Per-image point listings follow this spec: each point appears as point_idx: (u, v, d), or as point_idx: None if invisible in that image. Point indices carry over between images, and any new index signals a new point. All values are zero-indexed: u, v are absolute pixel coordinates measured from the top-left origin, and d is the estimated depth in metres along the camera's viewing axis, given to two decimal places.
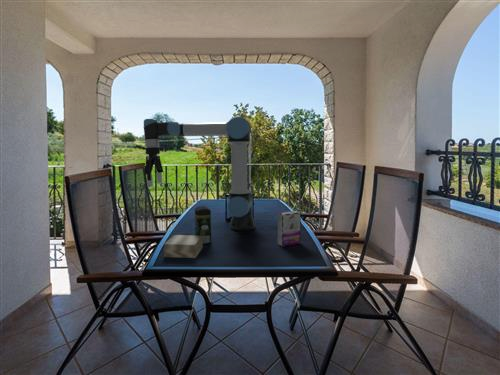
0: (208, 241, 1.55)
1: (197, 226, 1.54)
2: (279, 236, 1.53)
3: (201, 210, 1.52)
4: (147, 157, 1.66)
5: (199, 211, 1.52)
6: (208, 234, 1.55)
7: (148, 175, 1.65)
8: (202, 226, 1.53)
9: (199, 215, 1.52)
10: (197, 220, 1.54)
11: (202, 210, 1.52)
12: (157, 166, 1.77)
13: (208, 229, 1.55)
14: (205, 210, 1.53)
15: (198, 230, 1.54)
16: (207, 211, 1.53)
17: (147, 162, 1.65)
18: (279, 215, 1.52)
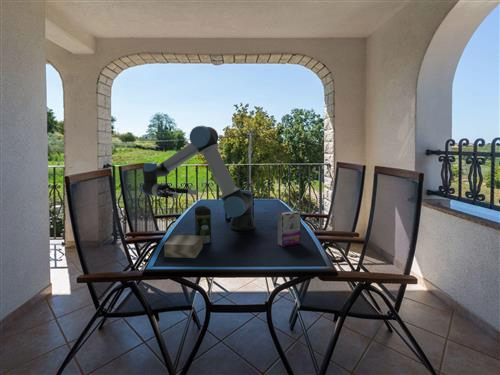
0: (208, 241, 1.55)
1: (197, 226, 1.54)
2: (279, 236, 1.53)
3: (201, 210, 1.52)
4: (158, 193, 1.68)
5: (199, 211, 1.52)
6: (208, 234, 1.55)
7: (167, 194, 1.61)
8: (202, 226, 1.53)
9: (199, 215, 1.52)
10: (197, 220, 1.54)
11: (202, 210, 1.52)
12: (180, 190, 1.74)
13: (208, 229, 1.55)
14: (205, 210, 1.53)
15: (198, 230, 1.54)
16: (207, 211, 1.53)
17: (160, 194, 1.66)
18: (279, 215, 1.52)
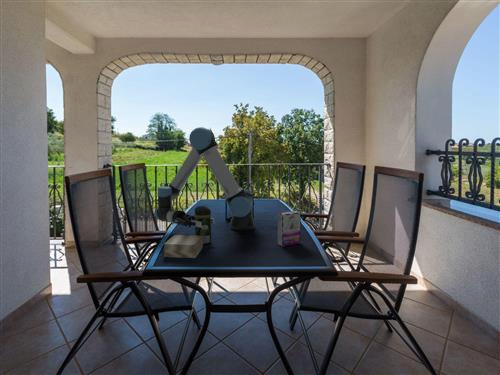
0: (208, 241, 1.55)
1: None
2: (279, 236, 1.53)
3: (201, 210, 1.52)
4: (175, 221, 1.59)
5: (199, 211, 1.52)
6: (208, 234, 1.55)
7: (190, 223, 1.54)
8: (202, 226, 1.53)
9: (199, 215, 1.52)
10: (197, 220, 1.54)
11: (202, 210, 1.52)
12: None
13: (208, 229, 1.55)
14: (205, 210, 1.53)
15: (198, 230, 1.54)
16: (207, 211, 1.53)
17: (179, 222, 1.58)
18: (279, 215, 1.52)
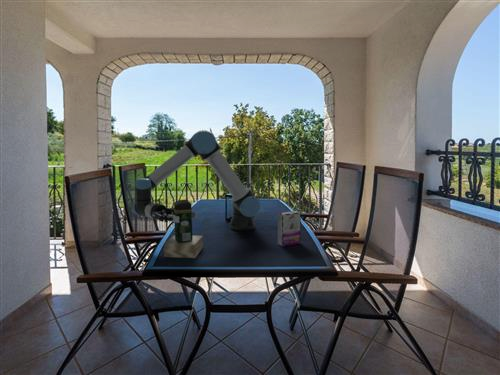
0: (188, 239, 1.39)
1: None
2: (279, 236, 1.53)
3: (180, 204, 1.36)
4: (152, 216, 1.43)
5: (178, 205, 1.36)
6: (188, 231, 1.39)
7: (166, 218, 1.37)
8: (181, 221, 1.37)
9: (178, 210, 1.36)
10: (176, 215, 1.37)
11: (181, 204, 1.36)
12: None
13: (188, 225, 1.39)
14: (185, 204, 1.36)
15: (177, 226, 1.38)
16: (187, 205, 1.37)
17: (156, 217, 1.41)
18: (279, 215, 1.52)
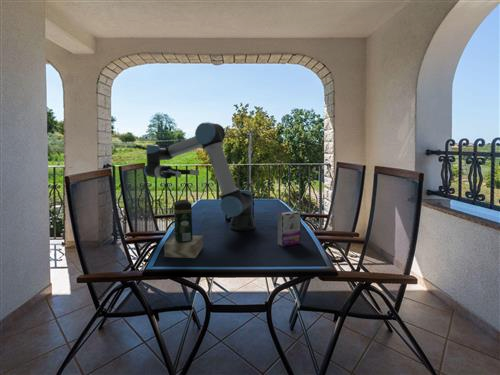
0: (188, 239, 1.39)
1: (176, 222, 1.38)
2: (279, 236, 1.53)
3: (180, 204, 1.36)
4: (161, 173, 1.72)
5: (178, 205, 1.36)
6: (188, 231, 1.39)
7: (170, 174, 1.65)
8: (181, 221, 1.37)
9: (178, 210, 1.36)
10: (176, 215, 1.37)
11: (181, 204, 1.36)
12: (182, 171, 1.78)
13: (188, 225, 1.39)
14: (185, 204, 1.36)
15: (177, 226, 1.38)
16: (187, 205, 1.37)
17: (163, 174, 1.70)
18: (279, 215, 1.52)
